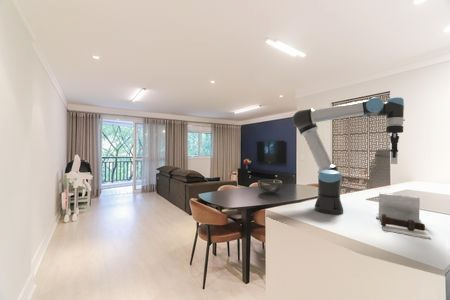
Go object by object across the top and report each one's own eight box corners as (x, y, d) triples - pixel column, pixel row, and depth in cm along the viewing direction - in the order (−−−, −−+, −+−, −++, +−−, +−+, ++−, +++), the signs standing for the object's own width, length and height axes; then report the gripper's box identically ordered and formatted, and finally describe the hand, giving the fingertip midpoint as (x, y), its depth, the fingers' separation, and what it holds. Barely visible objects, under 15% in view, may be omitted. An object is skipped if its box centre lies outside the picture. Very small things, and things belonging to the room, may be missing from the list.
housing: (376, 218, 114) (376, 193, 114) (377, 214, 122) (377, 191, 122) (422, 226, 103) (422, 199, 103) (420, 221, 111) (420, 196, 111)
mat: (381, 229, 98) (381, 227, 98) (382, 224, 106) (382, 222, 106) (430, 239, 88) (430, 237, 88) (427, 232, 96) (427, 230, 96)
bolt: (424, 236, 93) (381, 228, 101) (422, 228, 97) (381, 220, 105) (426, 226, 91) (382, 218, 99) (424, 218, 94) (382, 211, 103)
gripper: (404, 122, 110) (403, 164, 110) (402, 127, 130) (401, 163, 130) (385, 123, 115) (385, 163, 115) (386, 128, 135) (386, 162, 135)
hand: (393, 163), depth 123 cm, fingers open, 13 cm apart
